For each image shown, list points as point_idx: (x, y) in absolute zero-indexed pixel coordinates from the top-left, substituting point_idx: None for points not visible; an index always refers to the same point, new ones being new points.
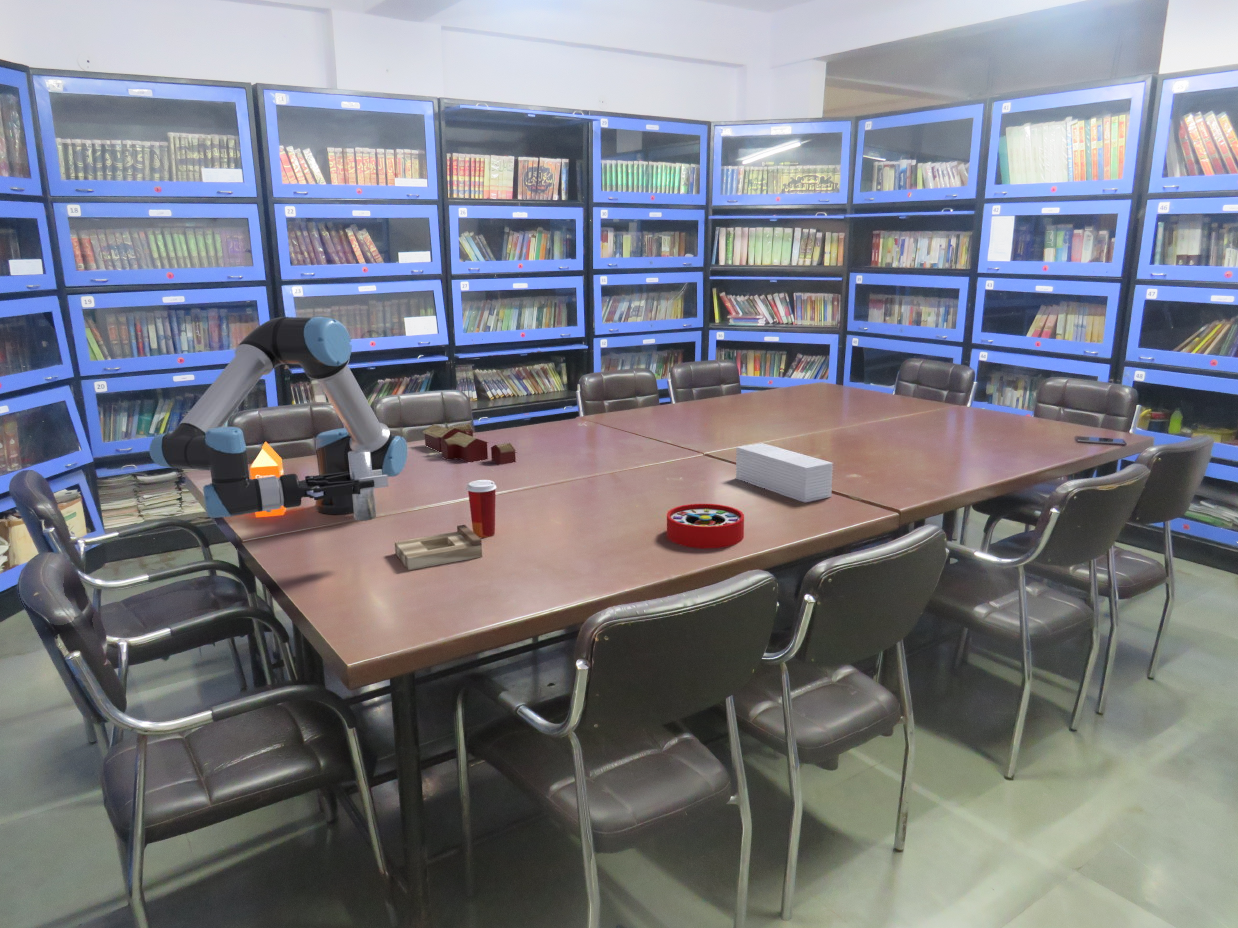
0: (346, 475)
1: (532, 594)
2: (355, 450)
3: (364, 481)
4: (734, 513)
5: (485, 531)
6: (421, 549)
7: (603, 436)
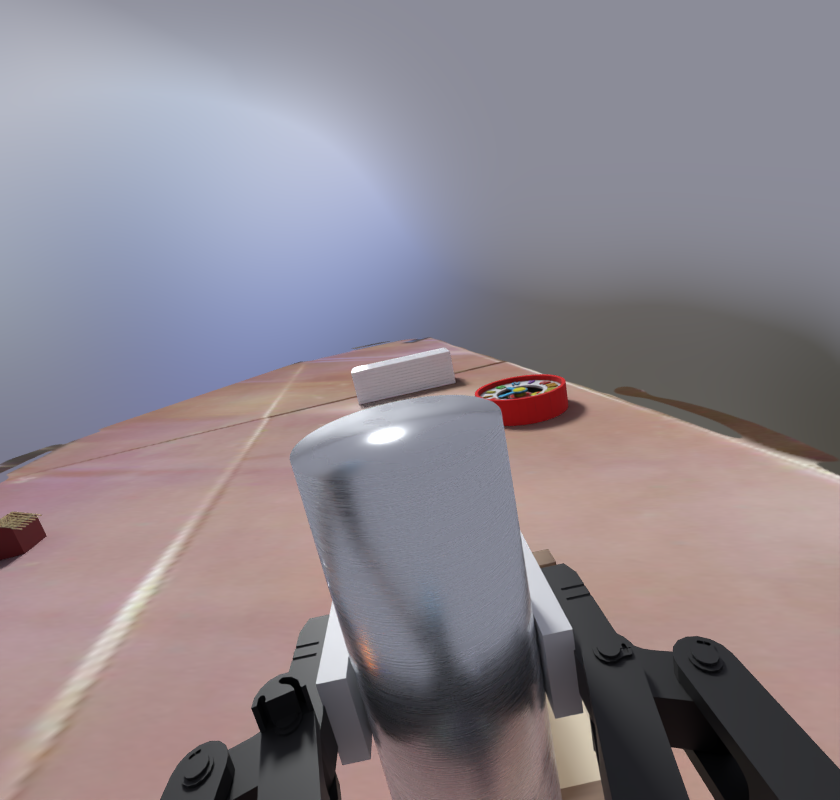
0: (320, 767)
1: (807, 519)
2: (303, 452)
3: (569, 613)
4: (508, 383)
5: None
6: None
7: (100, 466)
